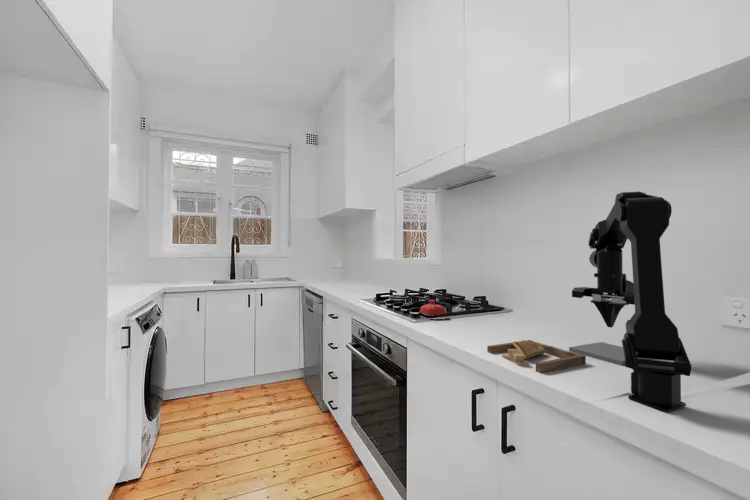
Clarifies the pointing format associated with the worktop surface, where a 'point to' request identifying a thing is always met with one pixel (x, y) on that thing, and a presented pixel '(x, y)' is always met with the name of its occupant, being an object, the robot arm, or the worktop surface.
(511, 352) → the upper oak offcut
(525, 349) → the shard
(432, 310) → the butter dish
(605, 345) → the charcoal mat
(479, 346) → the worktop surface
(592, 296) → the robot arm
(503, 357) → the lower oak offcut
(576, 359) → the walnut open-sided frame
